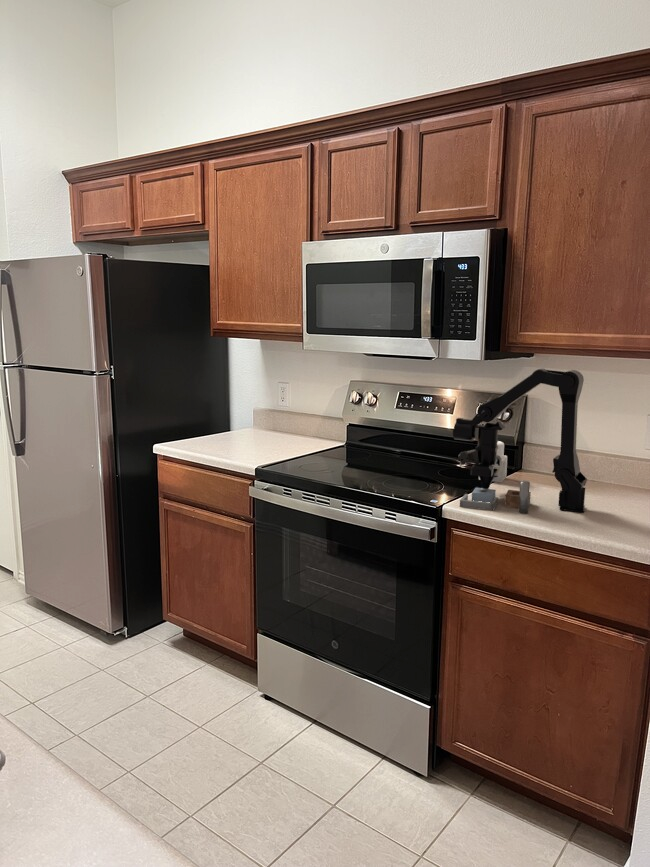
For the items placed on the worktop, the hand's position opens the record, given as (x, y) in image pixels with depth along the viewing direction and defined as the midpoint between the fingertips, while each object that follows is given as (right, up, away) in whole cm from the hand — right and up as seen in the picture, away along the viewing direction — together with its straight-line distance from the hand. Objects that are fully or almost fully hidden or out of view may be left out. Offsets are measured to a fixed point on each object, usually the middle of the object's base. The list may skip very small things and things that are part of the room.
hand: (485, 492), depth 203 cm
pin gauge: (+7, -4, -17) cm, 19 cm away
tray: (-4, -3, -9) cm, 10 cm away
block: (-1, -2, -4) cm, 4 cm away
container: (+8, +3, +21) cm, 23 cm away
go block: (+7, -3, -9) cm, 12 cm away
